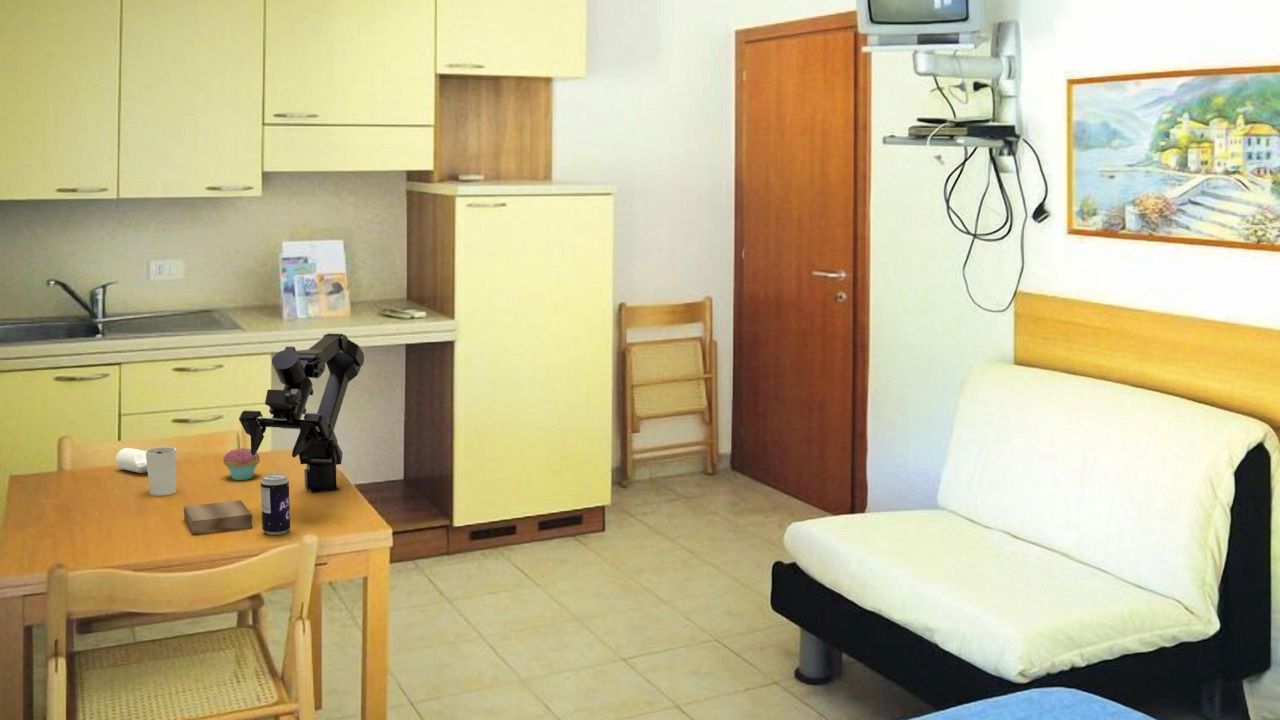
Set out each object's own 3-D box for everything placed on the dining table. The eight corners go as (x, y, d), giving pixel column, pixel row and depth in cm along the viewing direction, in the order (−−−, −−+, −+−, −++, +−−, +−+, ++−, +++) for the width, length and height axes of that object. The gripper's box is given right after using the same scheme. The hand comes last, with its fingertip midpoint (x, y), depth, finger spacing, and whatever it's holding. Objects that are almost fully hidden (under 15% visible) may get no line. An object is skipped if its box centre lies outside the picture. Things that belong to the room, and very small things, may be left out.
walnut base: (241, 513, 291) (240, 500, 291) (252, 527, 281) (251, 514, 280) (184, 519, 286) (183, 506, 285) (193, 535, 275) (192, 521, 275)
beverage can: (282, 536, 275) (280, 480, 273) (257, 534, 276) (255, 479, 274) (295, 529, 280) (293, 474, 278) (270, 527, 281) (268, 472, 279)
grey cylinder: (141, 494, 305) (139, 452, 303) (161, 487, 311) (159, 445, 310) (164, 497, 303) (162, 454, 301) (184, 490, 309) (182, 448, 307)
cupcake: (254, 482, 317) (252, 433, 315) (218, 481, 317) (216, 432, 315) (264, 473, 325) (262, 425, 323) (230, 472, 325) (228, 425, 323)
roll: (146, 479, 319) (145, 456, 318) (115, 471, 325) (114, 449, 324) (167, 474, 324) (166, 451, 323) (136, 466, 330) (135, 444, 329)
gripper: (242, 373, 289) (219, 430, 279) (324, 376, 286) (303, 434, 276) (258, 405, 297) (236, 461, 287) (337, 408, 294) (318, 465, 284)
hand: (272, 455), depth 283 cm, fingers open, 9 cm apart
